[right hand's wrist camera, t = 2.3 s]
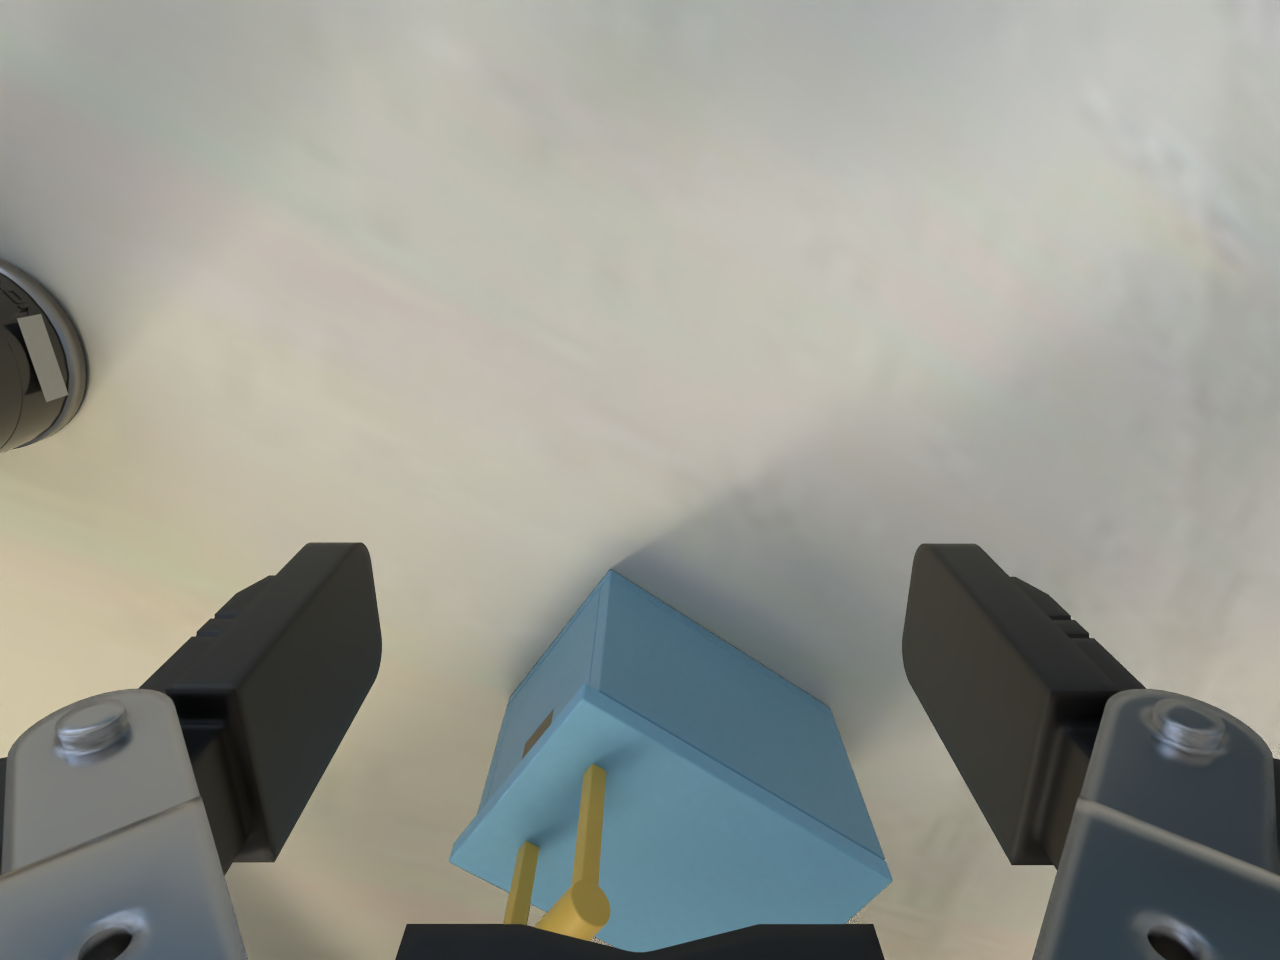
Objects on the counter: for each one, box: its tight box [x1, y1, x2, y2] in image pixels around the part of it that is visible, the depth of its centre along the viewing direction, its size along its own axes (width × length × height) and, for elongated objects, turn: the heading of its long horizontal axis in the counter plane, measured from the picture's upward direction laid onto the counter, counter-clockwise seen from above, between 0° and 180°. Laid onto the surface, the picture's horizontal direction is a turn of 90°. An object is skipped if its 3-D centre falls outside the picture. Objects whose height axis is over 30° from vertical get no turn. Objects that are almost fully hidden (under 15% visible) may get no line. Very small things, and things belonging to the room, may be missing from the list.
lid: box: [449, 684, 892, 952], centre depth 29 cm, size 16×10×8 cm, turn 55°
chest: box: [477, 569, 885, 860], centre depth 38 cm, size 16×10×11 cm
